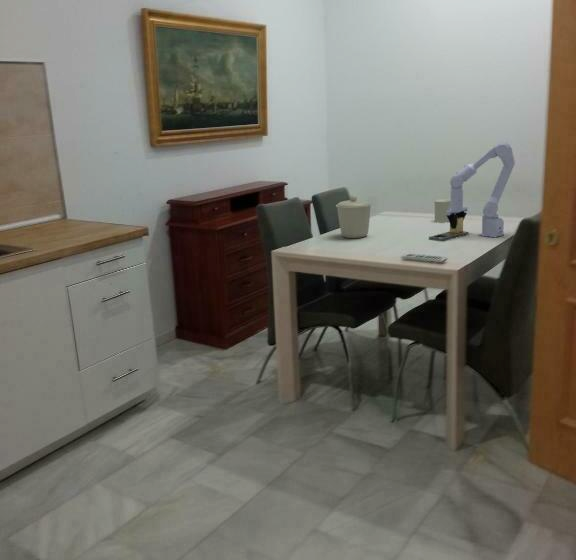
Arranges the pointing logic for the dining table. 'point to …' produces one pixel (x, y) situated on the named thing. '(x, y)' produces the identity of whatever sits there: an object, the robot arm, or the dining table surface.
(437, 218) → the can
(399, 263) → the dining table surface
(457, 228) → the block
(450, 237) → the grey frame plate
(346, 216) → the canister
